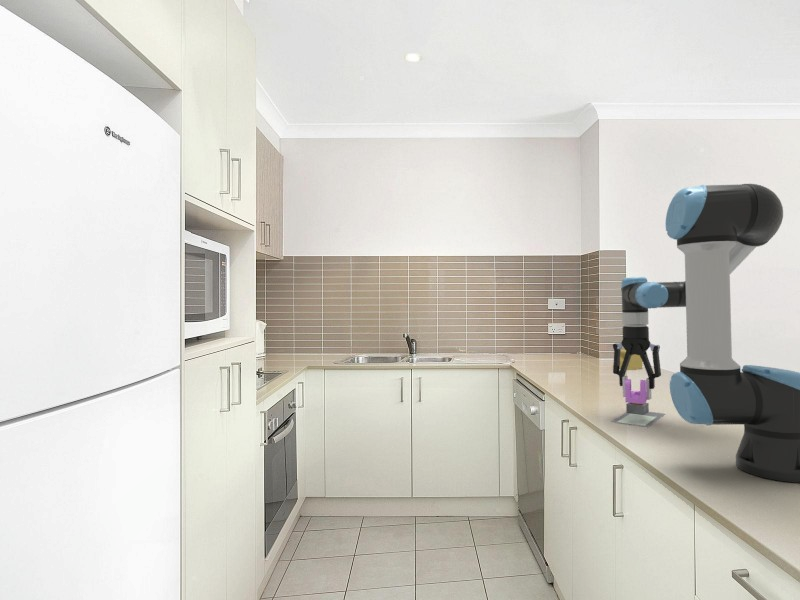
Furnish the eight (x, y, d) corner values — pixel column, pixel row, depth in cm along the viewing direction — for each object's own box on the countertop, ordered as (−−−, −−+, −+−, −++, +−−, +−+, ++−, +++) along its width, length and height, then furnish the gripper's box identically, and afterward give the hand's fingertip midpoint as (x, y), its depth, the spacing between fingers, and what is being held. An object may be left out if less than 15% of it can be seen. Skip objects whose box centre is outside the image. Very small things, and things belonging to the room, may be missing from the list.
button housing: (644, 414, 160) (643, 405, 160) (626, 412, 164) (626, 403, 164) (648, 411, 164) (648, 403, 164) (631, 409, 168) (631, 401, 168)
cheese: (613, 368, 268) (613, 350, 268) (629, 366, 271) (628, 348, 271) (627, 370, 258) (627, 351, 258) (643, 369, 261) (643, 350, 261)
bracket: (645, 404, 147) (645, 381, 147) (625, 402, 150) (625, 380, 150) (647, 395, 158) (647, 374, 158) (629, 394, 161) (628, 373, 161)
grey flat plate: (648, 428, 145) (648, 426, 145) (610, 423, 153) (610, 421, 153) (666, 415, 161) (666, 413, 161) (631, 410, 168) (630, 409, 168)
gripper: (672, 325, 151) (673, 399, 151) (608, 324, 163) (609, 392, 164) (665, 327, 145) (667, 403, 145) (600, 325, 158) (602, 396, 158)
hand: (637, 397), depth 154 cm, fingers closed on bracket, 6 cm apart
